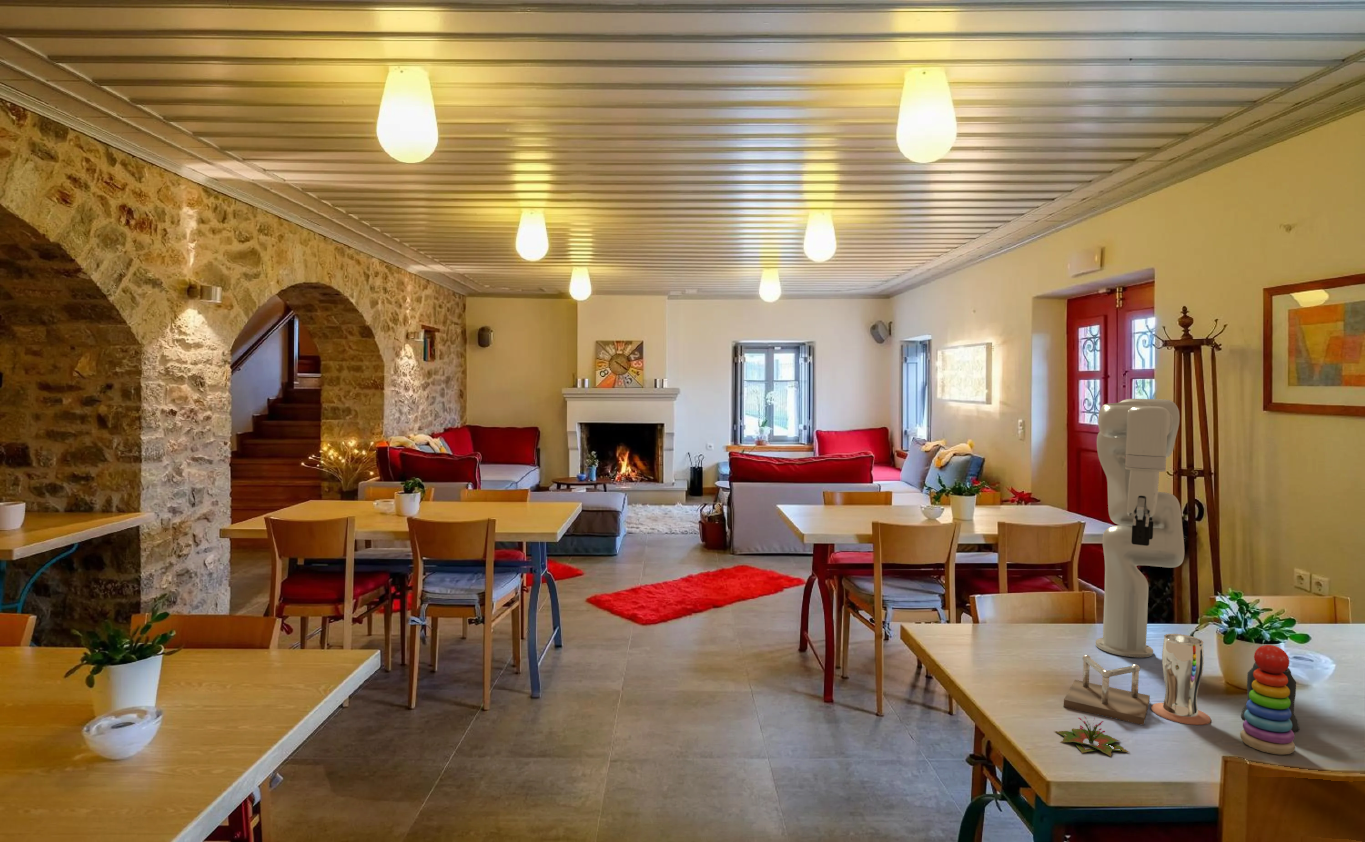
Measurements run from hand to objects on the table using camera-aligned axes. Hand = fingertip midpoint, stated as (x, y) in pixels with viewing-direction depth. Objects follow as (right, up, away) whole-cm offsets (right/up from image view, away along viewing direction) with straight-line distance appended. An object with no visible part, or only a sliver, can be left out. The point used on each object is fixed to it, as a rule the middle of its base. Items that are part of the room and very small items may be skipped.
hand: (1142, 541), depth 164 cm
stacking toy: (+7, -34, -26) cm, 43 cm away
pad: (0, -33, -13) cm, 35 cm away
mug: (+16, -33, -15) cm, 40 cm away
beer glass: (0, -33, -13) cm, 35 cm away
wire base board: (-12, -32, -8) cm, 35 cm away
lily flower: (-26, -33, -26) cm, 50 cm away
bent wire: (-13, -31, -9) cm, 34 cm away
